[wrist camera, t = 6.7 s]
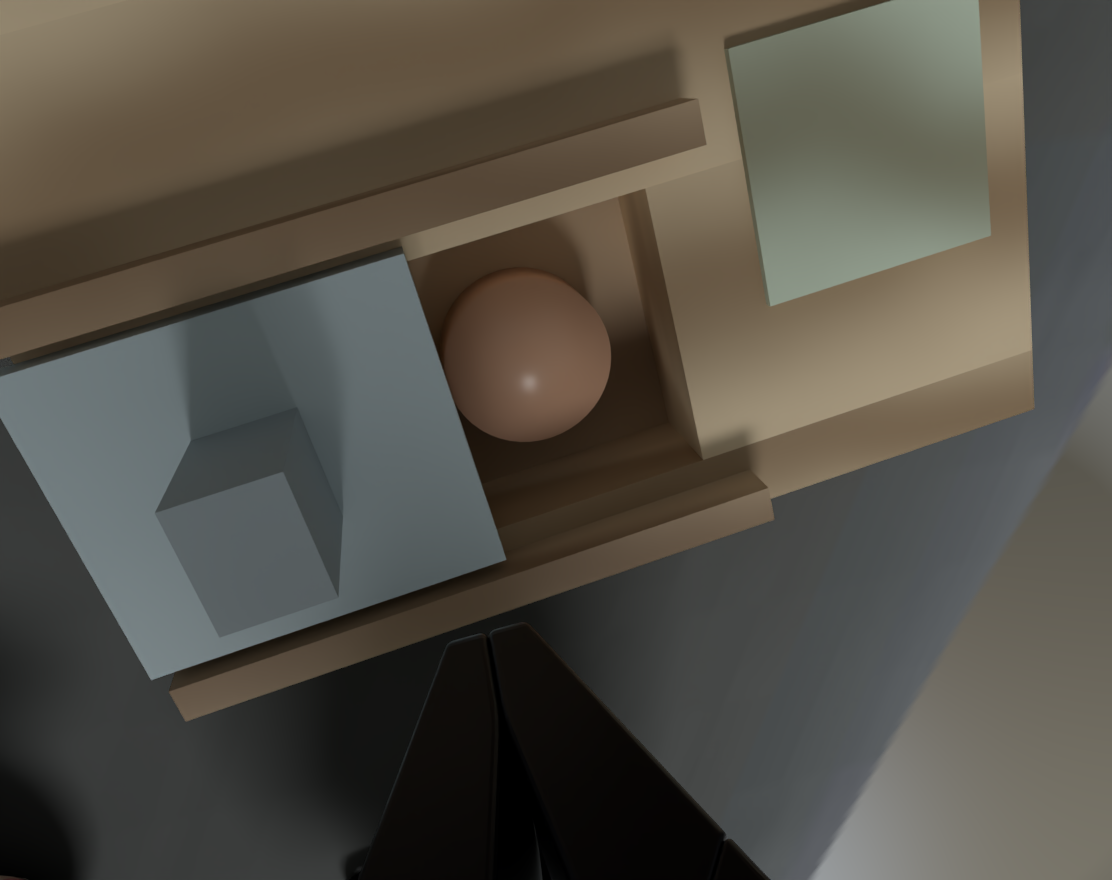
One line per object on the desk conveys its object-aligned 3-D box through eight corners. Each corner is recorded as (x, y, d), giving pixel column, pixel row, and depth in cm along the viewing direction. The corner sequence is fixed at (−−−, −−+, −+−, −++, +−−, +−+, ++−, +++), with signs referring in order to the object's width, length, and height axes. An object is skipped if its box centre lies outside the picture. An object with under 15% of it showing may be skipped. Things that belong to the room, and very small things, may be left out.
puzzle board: (955, 371, 23) (1065, 423, 20) (217, 617, 22) (187, 725, 18) (882, -606, 16) (1040, -819, 12) (-274, -335, 14) (-502, -487, 10)
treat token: (611, 392, 21) (627, 411, 20) (467, 440, 21) (474, 463, 19) (573, 246, 19) (587, 257, 18) (417, 295, 19) (421, 310, 18)
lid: (500, 541, 19) (531, 642, 15) (159, 656, 18) (111, 788, 15) (401, 245, 16) (411, 288, 13) (-2, 369, 16) (-106, 448, 12)
